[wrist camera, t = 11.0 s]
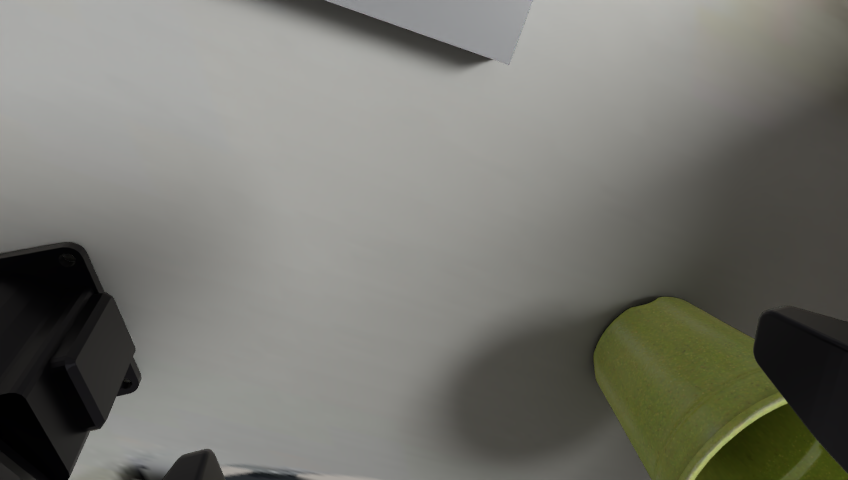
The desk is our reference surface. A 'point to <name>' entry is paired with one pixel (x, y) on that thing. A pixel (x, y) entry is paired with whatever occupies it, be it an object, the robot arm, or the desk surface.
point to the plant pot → (701, 400)
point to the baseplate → (455, 21)
